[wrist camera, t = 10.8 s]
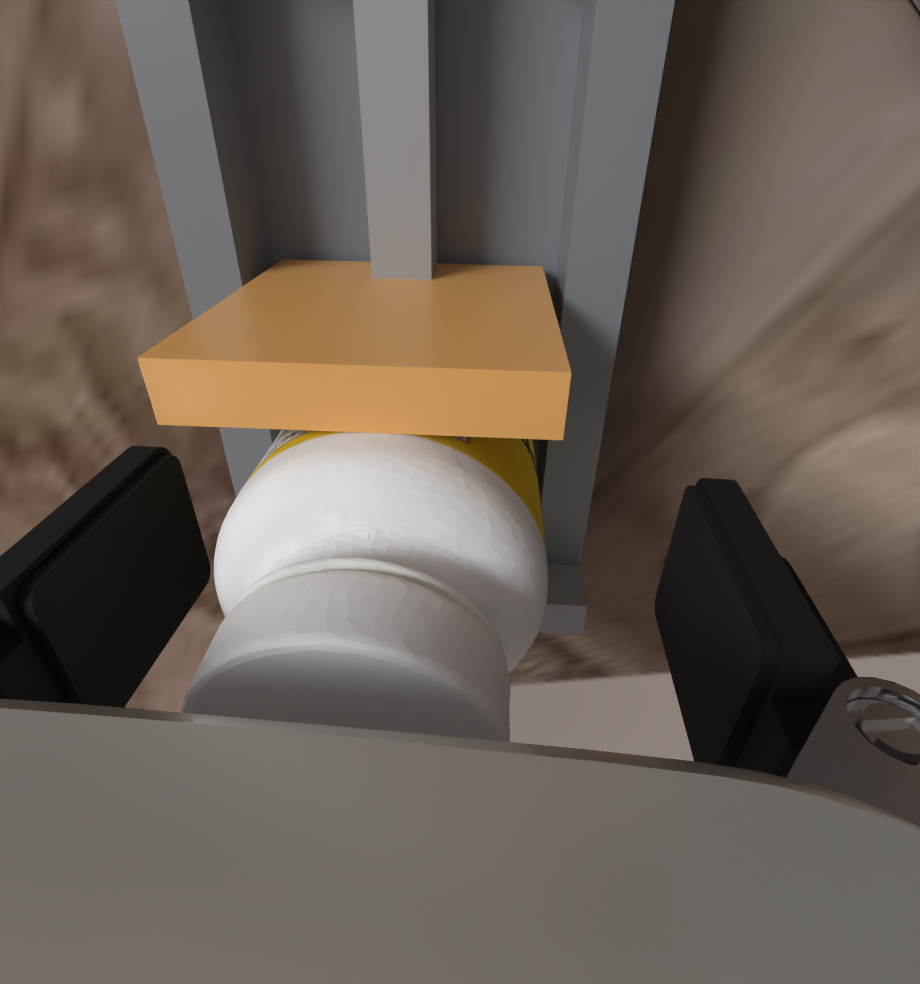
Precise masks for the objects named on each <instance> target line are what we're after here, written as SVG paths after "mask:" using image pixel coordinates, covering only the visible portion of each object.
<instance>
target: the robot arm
mask: <svg viewBox="0 0 920 984" xmlns="http://www.w3.org/2000/svg"><path fill="white" fill-rule="evenodd" d="M209 578H210V563H209V559H208V556H207V553H206V549H205V546H204V542H203V539H202V535H201V532H200V529H199V525H198V522H197V518H196V515H195V512H194V508H193V505H192V501H191V498H190V494H189V491H188V488H187V484H186V481H185V477H184V474H183V470H182V467H181V464H180V461H179V459H178V458H177V457H175V456H172V455H171V453H170V452H169V451H168V449H166V448H164V447H147V446H131V447H130V448H128V449H127V450H125V451H124V452H123V453H122V454H121V455H120V456H118V457H117V458H116V459H115V460H114V461H112V462H111V463H110V464H109V465H108V466H107V467H105V468H104V469H103V470H102V471H101V472H99V473H98V474H97V475H96V476H95V477H94V478H92V479H91V480H90V481H89V482H88V483H86V484H85V485H84V486H83V487H82V488H81V489H79V490H78V491H77V492H76V493H75V494H73V495H72V496H71V497H70V498H69V499H68V500H66V501H65V502H64V503H63V504H62V505H60V506H59V507H58V508H57V509H56V510H55V511H53V512H52V513H51V514H50V515H49V516H47V517H46V518H45V519H44V520H43V521H42V522H40V523H39V524H38V525H37V526H36V527H34V528H33V529H32V530H31V531H30V532H29V533H27V534H26V535H25V536H24V537H23V538H21V539H20V540H19V541H18V542H17V543H15V544H14V545H13V546H12V547H11V548H10V549H8V550H7V551H6V552H5V553H4V554H2V555H1V556H0V984H920V694H918V693H917V692H915V691H914V690H911V689H909V688H906V687H904V686H902V685H899V684H897V683H895V682H892V681H887V680H883V679H879V678H874V677H857V675H856V674H855V672H854V670H853V668H852V667H851V665H850V663H849V662H848V660H847V658H846V657H845V655H844V653H843V652H842V650H841V648H840V647H839V645H838V643H837V642H836V640H835V638H834V636H833V635H832V633H831V631H830V630H829V628H828V626H827V625H826V623H825V621H824V620H823V618H822V616H821V615H820V613H819V611H818V610H817V608H816V606H815V605H814V603H813V601H812V600H811V598H810V596H809V595H808V593H807V591H806V590H805V588H804V586H803V585H802V583H801V581H800V580H799V578H798V576H797V575H796V573H795V571H794V569H793V568H792V566H791V565H790V563H789V562H788V561H787V560H786V559H785V558H783V557H781V556H780V554H779V553H778V551H777V549H776V548H775V546H774V544H773V542H772V541H771V539H770V537H769V536H768V534H767V532H766V531H765V529H764V527H763V525H762V524H761V522H760V520H759V519H758V517H757V515H756V513H755V512H754V510H753V508H752V507H751V505H750V503H749V502H748V500H747V498H746V496H745V495H744V493H743V491H742V490H741V488H740V486H739V484H738V483H737V482H736V481H735V480H726V479H708V478H701V479H699V480H698V482H697V483H696V486H690V485H689V486H687V487H686V489H685V491H684V494H683V498H682V502H681V505H680V509H679V513H678V517H677V520H676V524H675V528H674V531H673V535H672V539H671V543H670V546H669V550H668V554H667V557H666V561H665V565H664V568H663V572H662V576H661V580H660V583H659V587H658V591H657V594H656V599H655V615H656V619H657V623H658V627H659V631H660V634H661V638H662V642H663V646H664V649H665V653H666V657H667V661H668V664H669V668H670V672H671V676H672V679H673V683H674V687H675V691H676V694H677V698H678V702H679V705H680V709H681V713H682V717H683V721H684V724H685V728H686V732H687V736H688V739H689V743H690V747H691V751H692V754H693V758H694V761H686V760H676V759H667V758H659V757H649V756H640V755H632V754H622V753H613V752H604V751H595V750H587V749H576V748H565V747H555V746H544V745H534V744H523V743H513V742H502V741H492V740H481V739H471V738H460V737H449V736H439V735H428V734H418V733H407V732H396V731H384V730H373V729H362V728H351V727H340V726H329V725H318V724H306V723H295V722H284V721H272V720H261V719H250V718H238V717H227V716H215V715H203V714H191V713H179V712H168V711H156V710H144V709H132V708H124V707H125V706H126V704H127V703H128V701H129V700H130V698H131V697H132V695H133V694H134V692H135V691H136V689H137V688H138V686H139V685H140V683H141V682H142V680H143V679H144V677H145V676H146V674H147V673H148V671H149V670H150V668H151V667H152V665H153V664H154V662H155V661H156V659H157V658H158V656H159V655H160V653H161V652H162V650H163V649H164V647H165V646H166V644H167V643H168V641H169V640H170V639H171V637H172V636H173V634H174V633H175V631H176V630H177V628H178V627H179V625H180V624H181V622H182V621H183V619H184V618H185V616H186V615H187V613H188V612H189V610H190V609H191V607H192V606H193V604H194V603H195V601H196V600H197V598H198V597H199V595H200V594H201V592H202V591H203V589H204V588H205V586H206V585H207V583H208V581H209Z"/></svg>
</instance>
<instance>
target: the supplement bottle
mask: <svg viewBox="0 0 920 984" xmlns="http://www.w3.org/2000/svg"><path fill="white" fill-rule="evenodd" d="M214 578H215V587H216V591H217V595H218V599H219V602H220V606H221V609H222V611H223V614H224V616H225V619H224V620H223V622H222V623H221V625H220V626H219V628H218V630H217V632H216V634H215V636H214V638H213V640H212V642H211V644H210V646H209V648H208V650H207V652H206V654H205V656H204V658H203V660H202V662H201V664H200V666H199V668H198V669H197V671H196V673H195V675H194V677H193V679H192V681H191V683H190V684H189V687H188V690H187V692H186V695H185V698H184V702H183V705H182V711H181V713H191V714H203V715H215V716H227V717H238V718H250V719H261V720H272V721H284V722H295V723H306V724H318V725H329V726H340V727H351V728H362V729H373V730H384V731H396V732H407V733H418V734H428V735H439V736H449V737H460V738H471V739H481V740H492V741H502V742H510V728H509V725H510V723H509V700H510V679H509V672H510V671H511V670H512V669H513V668H514V667H515V666H516V665H517V664H518V663H519V661H520V660H521V659H522V658H523V656H524V655H525V654H526V653H527V651H528V650H529V648H530V647H531V645H532V643H533V642H534V640H535V638H536V636H537V633H538V631H539V629H540V626H541V623H542V620H543V617H544V614H545V609H546V603H547V595H548V570H547V554H546V546H545V538H544V530H543V521H542V513H541V505H540V495H539V486H538V477H537V469H536V460H535V453H534V446H533V439H516V438H491V437H465V436H439V435H413V434H387V433H361V432H335V431H310V430H284V429H282V430H281V432H280V433H279V435H278V436H277V438H276V439H275V440H274V442H273V443H272V445H271V447H270V448H269V450H268V451H267V453H266V454H265V455H264V457H263V458H262V460H261V461H260V463H259V465H258V466H257V467H256V469H255V470H254V472H253V473H252V474H251V476H250V477H249V479H248V480H247V482H246V483H245V484H244V486H243V487H242V489H241V490H240V492H239V494H238V495H237V497H236V499H235V501H234V503H233V504H232V506H231V508H230V509H229V511H228V513H227V515H226V517H225V520H224V522H223V524H222V527H221V530H220V533H219V536H218V540H217V545H216V550H215V557H214Z"/></svg>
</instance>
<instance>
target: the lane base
mask: <svg viewBox="0 0 920 984" xmlns="http://www.w3.org/2000/svg"><path fill="white" fill-rule="evenodd" d="M674 3H675V0H435V97H436V210H437V263H440V264H478V265H516V266H543V270H544V273H545V277H546V281H547V284H548V288H549V292H550V295H551V299H552V303H553V306H554V310H555V314H556V317H557V321H558V325H559V328H560V332H561V336H562V339H563V343H564V347H565V350H566V354H567V358H568V361H569V365H570V369H571V372H572V373H571V381H570V389H569V397H568V405H567V412H566V420H565V428H564V436H563V440H542V439H533V446H534V453H535V460H536V469H537V477H538V486H539V495H540V505H541V513H542V521H543V530H544V538H545V546H546V554H547V570H548V595H547V603H546V609H545V614H544V617H543V620H542V623H541V626H540V629H539V631H538V633H552V634H571V635H582V634H583V628H584V623H585V618H586V612H587V607H588V606H587V600H586V594H585V589H584V583H583V577H582V572H581V566H580V565H581V559H582V553H583V547H584V541H585V535H586V529H587V523H588V517H589V511H590V505H591V499H592V493H593V488H594V482H595V476H596V470H597V464H598V458H599V452H600V446H601V440H602V434H603V428H604V422H605V416H606V410H607V404H608V398H609V392H610V386H611V380H612V374H613V368H614V362H615V356H616V350H617V344H618V338H619V332H620V326H621V320H622V314H623V308H624V302H625V296H626V290H627V284H628V278H629V272H630V266H631V260H632V254H633V248H634V242H635V236H636V230H637V224H638V218H639V212H640V206H641V200H642V194H643V188H644V182H645V176H646V170H647V164H648V158H649V152H650V146H651V140H652V134H653V128H654V122H655V116H656V110H657V104H658V98H659V92H660V86H661V80H662V74H663V68H664V62H665V56H666V50H667V44H668V38H669V32H670V26H671V20H672V15H673V9H674ZM116 4H117V8H118V12H119V16H120V21H121V25H122V29H123V33H124V37H125V41H126V45H127V49H128V54H129V58H130V62H131V66H132V70H133V74H134V78H135V82H136V87H137V91H138V95H139V99H140V103H141V107H142V111H143V115H144V120H145V124H146V128H147V132H148V136H149V140H150V144H151V148H152V153H153V157H154V161H155V165H156V169H157V173H158V177H159V181H160V186H161V190H162V194H163V198H164V202H165V206H166V210H167V214H168V219H169V223H170V227H171V231H172V235H173V239H174V243H175V247H176V252H177V256H178V260H179V264H180V268H181V272H182V276H183V280H184V285H185V289H186V293H187V297H188V301H189V305H190V309H191V313H192V318H193V320H194V319H195V318H197V317H198V316H200V315H201V314H203V313H204V312H206V311H207V310H209V309H210V308H212V307H213V306H215V305H216V304H218V303H219V302H220V301H222V300H223V299H225V298H226V297H228V296H229V295H231V294H232V293H234V292H235V291H237V290H238V289H240V288H241V287H243V286H244V285H246V284H247V283H248V282H250V281H251V280H253V279H254V278H256V277H257V276H259V275H260V274H262V273H263V272H265V271H266V270H268V269H269V268H271V267H272V266H273V265H275V264H276V263H278V262H279V261H281V260H282V259H287V260H325V261H364V262H371V257H370V243H369V228H368V214H367V199H366V185H365V170H364V155H363V141H362V126H361V112H360V97H359V83H358V68H357V54H356V39H355V24H354V10H353V0H116ZM219 429H220V433H221V437H222V441H223V445H224V450H225V454H226V458H227V462H228V466H229V470H230V474H231V478H232V483H233V487H234V491H235V495H236V497H237V495H238V494H239V492H240V490H241V489H242V487H243V486H244V484H245V483H246V482H247V480H248V479H249V477H250V476H251V474H252V473H253V472H254V470H255V469H256V467H257V466H258V465H259V463H260V461H261V460H262V458H263V457H264V455H265V454H266V453H267V451H268V450H269V448H270V447H271V445H272V443H273V442H274V440H275V439H276V438H277V436H278V435H279V433H280V432H281V430H282V429H258V428H232V427H219Z"/></svg>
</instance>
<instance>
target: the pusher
mask: <svg viewBox="0 0 920 984" xmlns="http://www.w3.org/2000/svg"><path fill="white" fill-rule="evenodd" d="M353 10H354V24H355V39H356V54H357V68H358V83H359V97H360V112H361V126H362V141H363V155H364V170H365V185H366V199H367V214H368V228H369V243H370V257H371V262H364V261H325V260H287V259H282V260H281V261H279V262H278V263H276V264H275V265H273V266H272V267H271V268H269V269H268V270H266V271H265V272H263V273H262V274H260V275H259V276H257V277H256V278H254V279H253V280H251V281H250V282H248V283H247V284H246V285H244V286H243V287H241V288H240V289H238V290H237V291H235V292H234V293H232V294H231V295H229V296H228V297H226V298H225V299H223V300H222V301H220V302H219V303H218V304H216V305H215V306H213V307H212V308H210V309H209V310H207V311H206V312H204V313H203V314H201V315H200V316H198V317H197V318H195V319H194V320H193V321H191V322H190V323H188V324H187V325H185V326H184V327H182V328H181V329H179V330H178V331H176V332H175V333H173V334H172V335H170V336H169V337H167V338H166V339H165V340H163V341H162V342H160V343H159V344H157V345H156V346H154V347H153V348H151V349H150V350H148V351H147V352H145V353H144V354H142V355H141V356H139V357H138V361H139V364H140V367H141V371H142V374H143V377H144V380H145V384H146V387H147V390H148V394H149V397H150V400H151V403H152V407H153V410H154V413H155V416H156V420H157V423H158V425H180V426H206V427H232V428H258V429H284V430H310V431H335V432H361V433H387V434H413V435H439V436H465V437H491V438H516V439H542V440H563V436H564V428H565V420H566V412H567V405H568V397H569V389H570V381H571V373H572V372H571V369H570V365H569V361H568V358H567V354H566V350H565V347H564V343H563V339H562V336H561V332H560V328H559V325H558V321H557V317H556V314H555V310H554V306H553V303H552V299H551V295H550V292H549V288H548V284H547V281H546V277H545V273H544V270H543V266H516V265H478V264H440V263H437V210H436V97H435V0H353Z"/></svg>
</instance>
